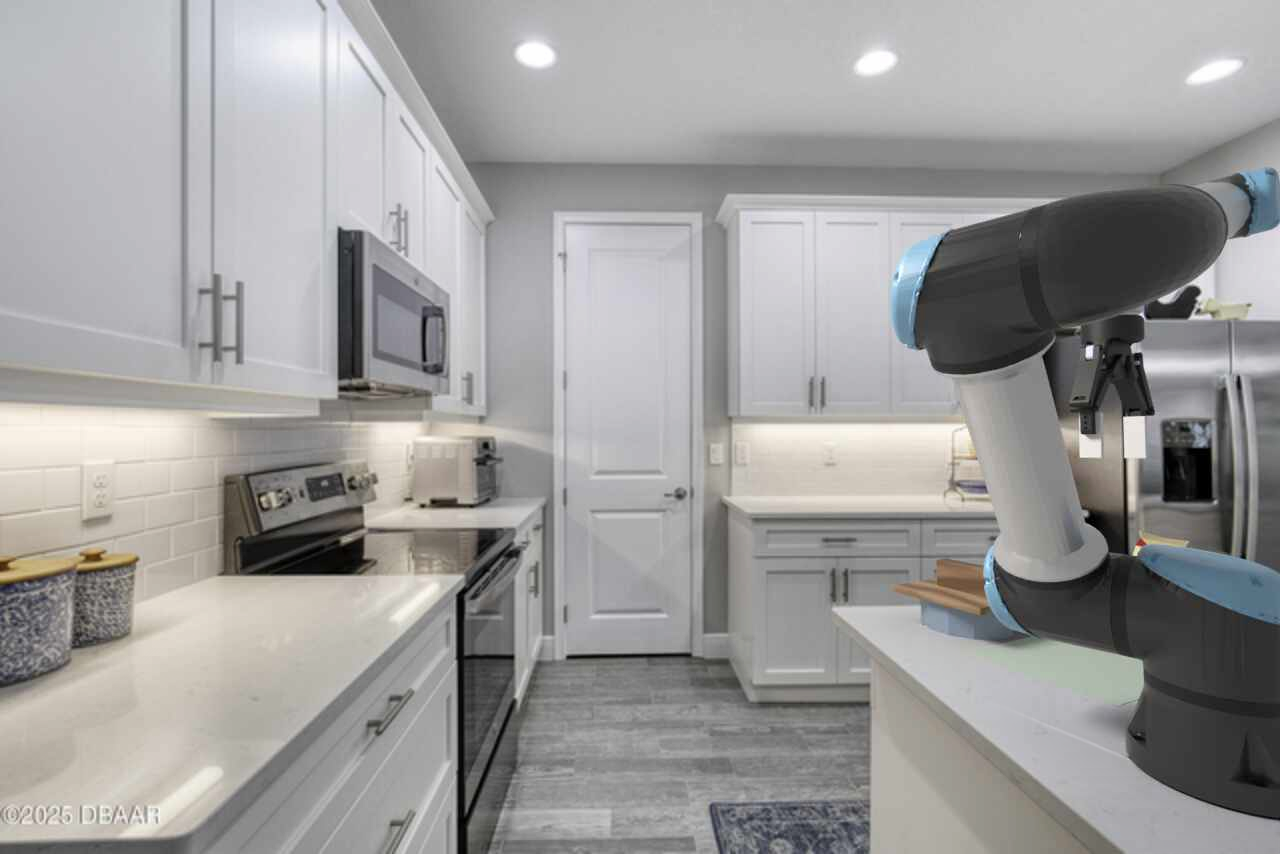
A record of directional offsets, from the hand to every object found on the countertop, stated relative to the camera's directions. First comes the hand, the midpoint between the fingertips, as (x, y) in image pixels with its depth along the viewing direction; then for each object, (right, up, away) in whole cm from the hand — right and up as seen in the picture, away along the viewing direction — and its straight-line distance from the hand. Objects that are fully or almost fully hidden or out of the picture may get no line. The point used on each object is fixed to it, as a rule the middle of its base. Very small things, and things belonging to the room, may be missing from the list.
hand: (1114, 458), depth 87 cm
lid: (-9, -28, +23) cm, 37 cm away
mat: (-3, -33, +4) cm, 33 cm away
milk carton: (+17, -33, +11) cm, 39 cm away
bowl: (-9, -34, +23) cm, 42 cm away
